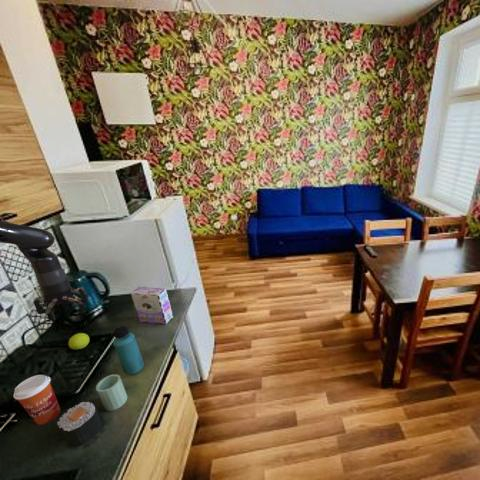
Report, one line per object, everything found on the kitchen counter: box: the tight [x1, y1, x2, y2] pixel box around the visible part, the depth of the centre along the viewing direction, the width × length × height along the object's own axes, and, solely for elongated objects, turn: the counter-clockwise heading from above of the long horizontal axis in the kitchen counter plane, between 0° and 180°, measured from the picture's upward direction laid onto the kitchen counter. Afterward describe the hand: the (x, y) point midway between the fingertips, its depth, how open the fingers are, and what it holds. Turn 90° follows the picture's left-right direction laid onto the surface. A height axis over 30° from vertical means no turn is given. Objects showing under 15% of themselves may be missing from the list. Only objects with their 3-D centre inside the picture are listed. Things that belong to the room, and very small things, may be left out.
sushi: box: [56, 401, 104, 447], centre depth 78 cm, size 8×8×8 cm
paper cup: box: [13, 374, 61, 426], centre depth 81 cm, size 8×8×14 cm
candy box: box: [129, 286, 174, 326], centre depth 123 cm, size 14×6×16 cm, turn 83°
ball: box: [68, 332, 91, 351], centre depth 108 cm, size 6×6×6 cm
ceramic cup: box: [95, 373, 128, 412], centre depth 86 cm, size 6×6×9 cm
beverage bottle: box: [112, 325, 145, 376], centre depth 95 cm, size 6×7×20 cm
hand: (68, 315), depth 104 cm, fingers open, 8 cm apart
